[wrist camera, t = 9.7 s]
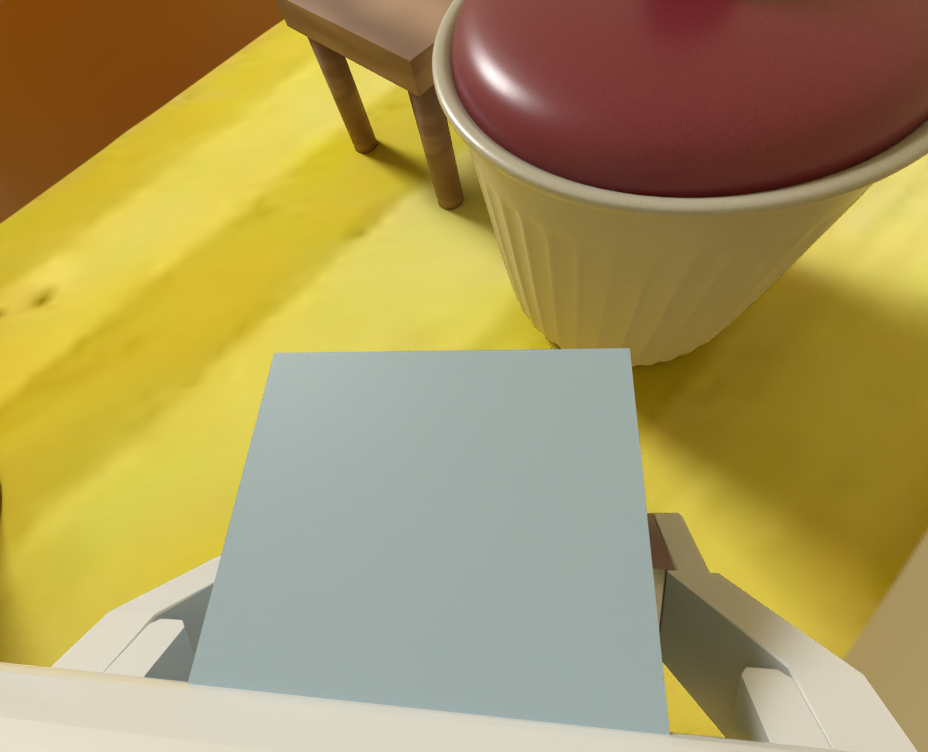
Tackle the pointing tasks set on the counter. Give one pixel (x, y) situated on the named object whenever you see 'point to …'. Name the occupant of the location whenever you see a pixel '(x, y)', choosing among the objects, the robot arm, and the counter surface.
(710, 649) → the robot arm
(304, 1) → the walnut stool
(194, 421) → the counter surface
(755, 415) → the counter surface
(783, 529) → the counter surface
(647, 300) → the canister
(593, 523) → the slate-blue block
